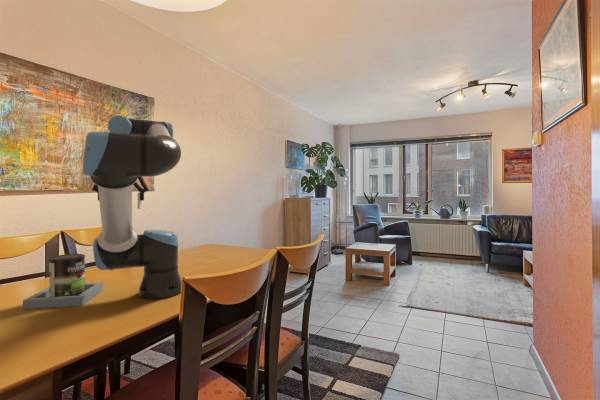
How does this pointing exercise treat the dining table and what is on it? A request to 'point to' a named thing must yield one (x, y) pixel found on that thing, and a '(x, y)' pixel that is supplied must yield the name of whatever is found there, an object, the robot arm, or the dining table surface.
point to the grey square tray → (62, 298)
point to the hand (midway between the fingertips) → (121, 208)
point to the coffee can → (67, 275)
